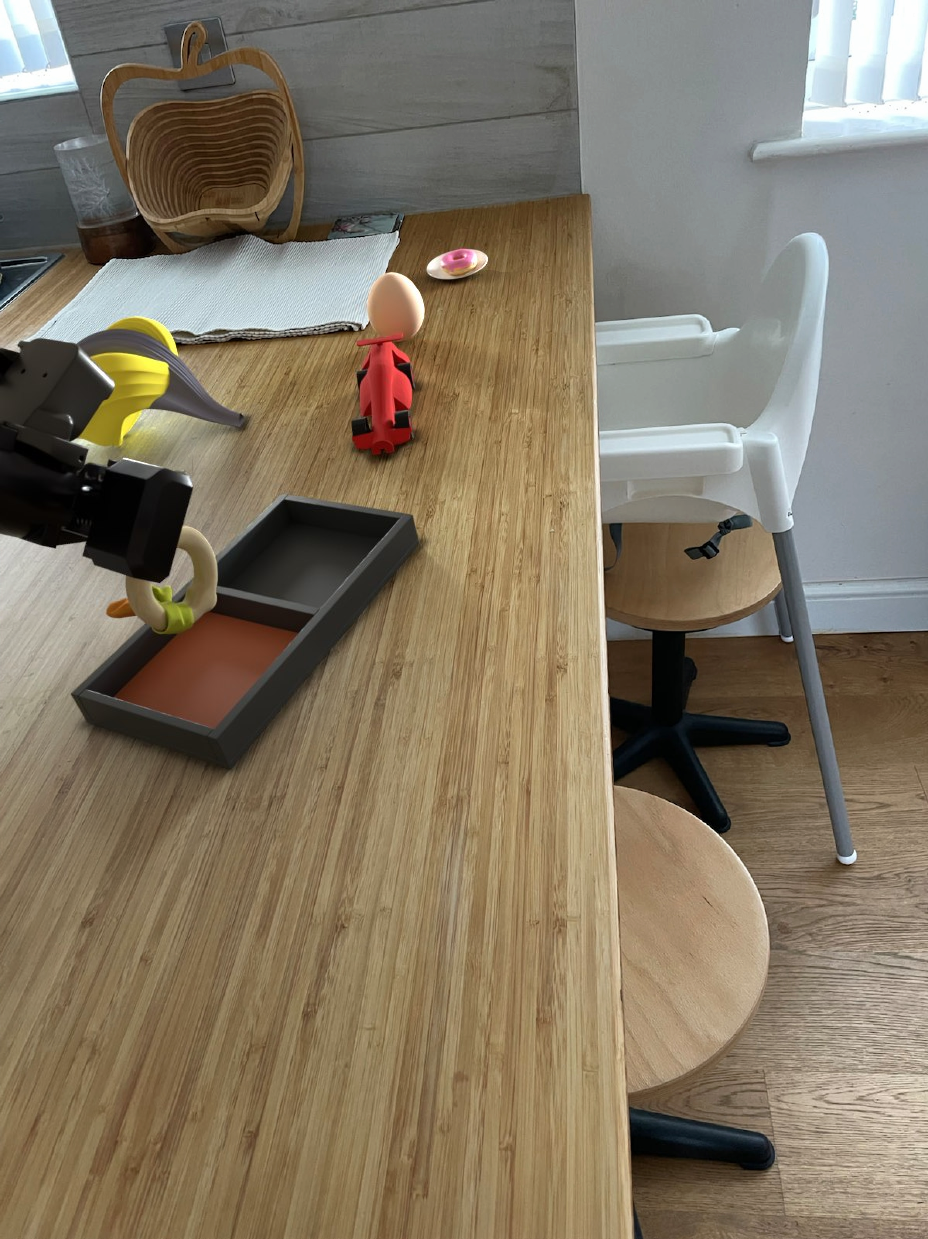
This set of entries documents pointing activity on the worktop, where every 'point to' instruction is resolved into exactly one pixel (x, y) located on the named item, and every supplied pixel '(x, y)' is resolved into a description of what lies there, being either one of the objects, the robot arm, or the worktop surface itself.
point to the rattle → (158, 602)
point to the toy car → (384, 396)
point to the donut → (457, 264)
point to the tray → (251, 629)
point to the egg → (395, 306)
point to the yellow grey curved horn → (145, 380)
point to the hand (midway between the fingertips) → (165, 526)
